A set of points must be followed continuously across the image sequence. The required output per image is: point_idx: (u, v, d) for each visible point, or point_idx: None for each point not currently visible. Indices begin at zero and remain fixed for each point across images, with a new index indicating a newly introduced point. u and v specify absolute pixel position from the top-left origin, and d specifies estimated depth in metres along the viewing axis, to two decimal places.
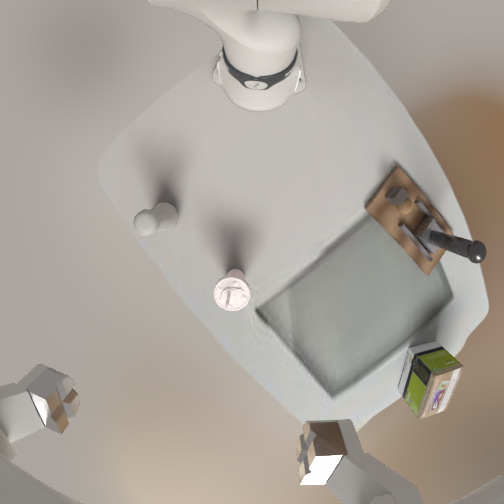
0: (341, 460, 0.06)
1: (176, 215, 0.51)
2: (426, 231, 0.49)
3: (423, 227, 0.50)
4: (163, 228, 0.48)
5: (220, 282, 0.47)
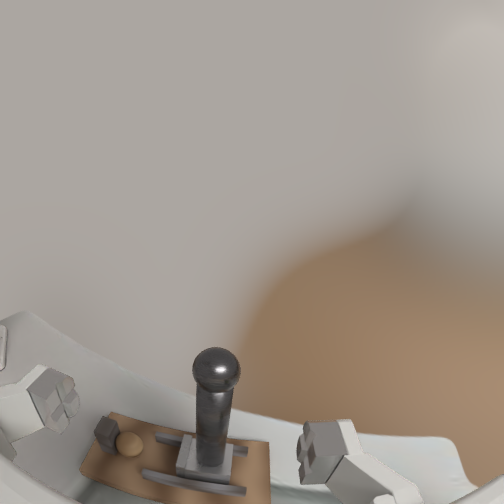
0: (341, 460, 0.06)
1: None
2: (181, 454, 0.24)
3: None
4: None
5: None
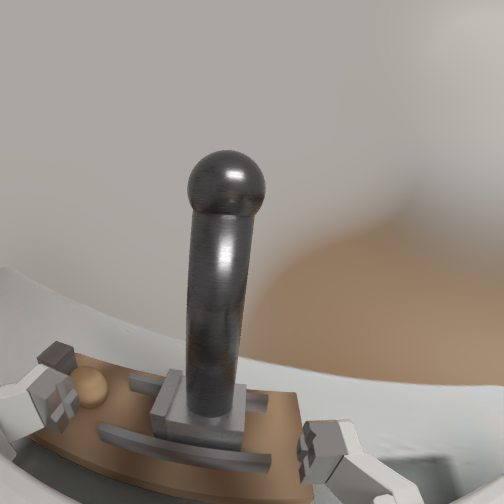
0: (341, 460, 0.06)
1: None
2: (162, 396, 0.16)
3: None
4: None
5: None
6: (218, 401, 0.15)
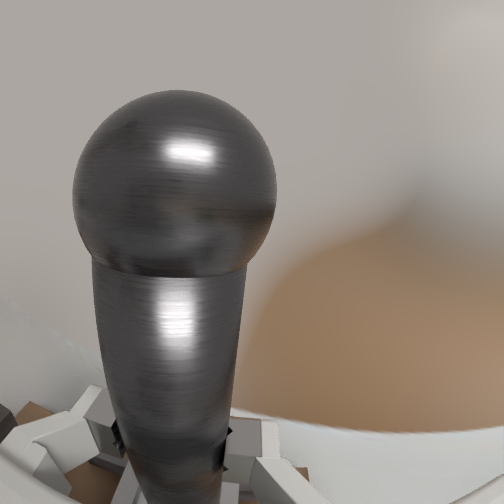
0: (254, 461, 0.06)
1: None
2: (118, 503, 0.07)
3: None
4: None
5: None
6: None
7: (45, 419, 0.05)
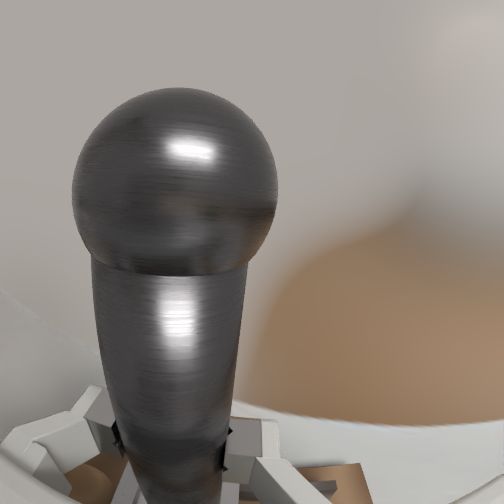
0: (254, 462, 0.06)
1: None
2: None
3: None
4: None
5: None
6: None
7: (45, 419, 0.05)
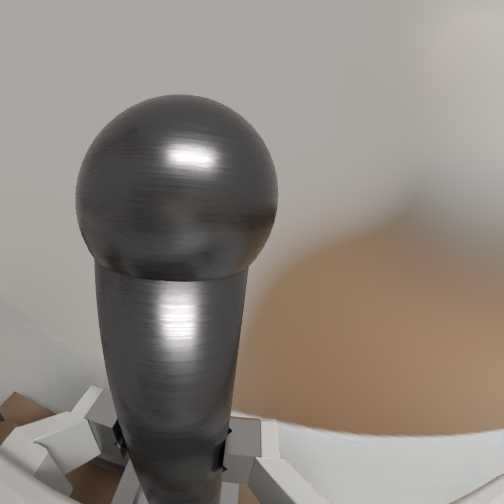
0: (254, 461, 0.06)
1: None
2: (119, 502, 0.07)
3: None
4: None
5: None
6: None
7: (46, 419, 0.05)
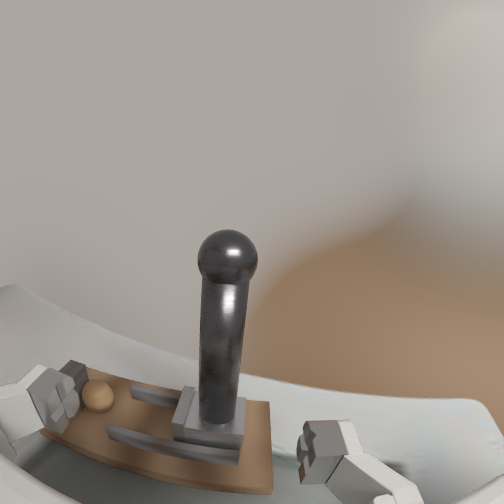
0: (341, 460, 0.06)
1: None
2: (180, 409, 0.21)
3: None
4: None
5: None
6: (224, 412, 0.20)
7: None
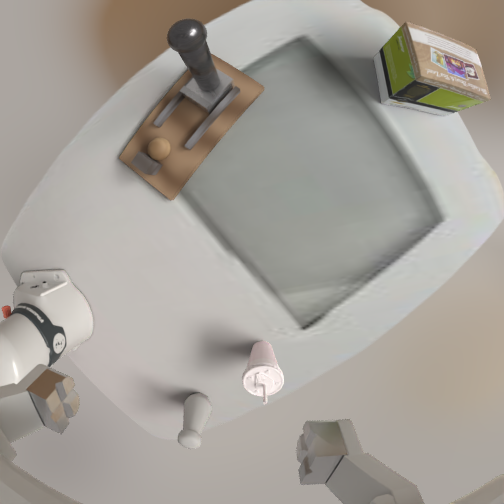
0: (341, 460, 0.06)
1: (194, 399, 0.48)
2: (198, 99, 0.34)
3: (196, 103, 0.36)
4: (201, 418, 0.44)
5: (249, 390, 0.39)
6: (218, 79, 0.33)
7: None
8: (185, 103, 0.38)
